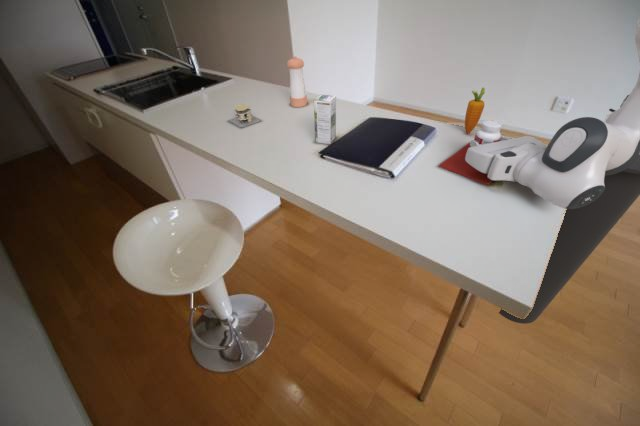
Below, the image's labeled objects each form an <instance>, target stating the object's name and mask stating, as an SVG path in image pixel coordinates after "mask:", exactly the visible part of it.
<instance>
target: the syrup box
mask: <svg viewBox="0 0 640 426" xmlns="http://www.w3.org/2000/svg"><path fill="white" fill-rule="evenodd" d="M336 110H337V96H336V95H332V94H319V95H318V96H316V98H315V99H314V100H313V116H314V117H313V118H314V142H315V143H317V144H325V145H326V144H327V145H331V144H333V142H334V140H335V139H336V137H337V136H336V134H337V131H336V127H337V124H336V123H337V111H336Z"/></svg>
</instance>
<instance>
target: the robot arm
mask: <svg viewBox="0 0 640 426" xmlns="http://www.w3.org/2000/svg"><path fill="white" fill-rule="evenodd" d="M634 41H635V43H634V44H635V49H636V51H637V55H638V63H639V64H640V16H639V17H638V19H637V21H636V25H635V34H634ZM608 111H609V112H610V113H608V114H607V115H606V117H605V119H604V121H603V120H601V119H599V118H597V117H593V116H584V117H578V118H575V119H572V120H570V121H568V122H566V123H565V124H563V125H562V126H561V127H559V129H557V131H556V132H555V134H554V135H553V136H552V138H551V139H550V141H549V143H548V144H545V143H544V142H543V141H540V140H539V139H537V138H535V137H534V136H532V135H531V136H530V135H524V136H518V137H514V138H513V137H508V136H503V135H501V138H500V141H498V142H493V143H488V144H483V145H482V144H480V145H479V143H480V141H479V140H477V139H475V140H474V139H471V140H470V142H469V143H470V146H471V147H469V148H468V150H467V153H466V157H465V160H466V162H467V163H468V164H470V165H471V166H472V167H474V168H475V169H477V170H478V171H480V172H482V173H487V174H488V175H487V177H488V178H489V179H491V180H493V181H507V182H517V183H518V184H519V185H522V186H524V187H527V188H529V189H530V190H531V191H532V192H533V193H534V195H537V196H538V197H540V198H542V199H543V200H545V201H546V202H549V203H550V204H552V205H555V206H557V207H559V208H562V209H565V210H566V209H576V208H580V207H583V206H586V205H588V204H590V203H591V202H593V201H594V200H596V199H597V198H598V197H599V196H600V195H601V194H602V193H603V191H604V190H605V185H604V177H605V176H607V175H613V174H616V173H619V172H621V171H623V170H625V169H627V168H628V167H629V166H631V165H632V164H633V163H634V162H635V160H636V159H637V157H638V156H639V154H640V71H639V72H638V77H637V81H636V83H635V85H634V88H633V89H632V90H631V92H630V93H629V94H627V95H626V96H625V98H624V99H623V101H622V103H621V105H620V106H619V108H618V109H614V108H609V109H608Z"/></svg>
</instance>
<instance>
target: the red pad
mask: <svg viewBox="0 0 640 426" xmlns="http://www.w3.org/2000/svg"><path fill="white" fill-rule="evenodd" d="M469 147H471V146H470V142H468V143H467V144H466V145H464V146H463V147H462V148H461V149H459V150H458V151H457V152H455V153H454V154H452V155H451V156H450V157H448V158H447V159H445V160H444V161H443V162H441V163H440V164H438V167H439V168H441V169H444V170H446V171H450V172H452V173H455V174H456V175H460V176H463V177H465V178H467V179H470V180H473V181H476V182H477V183H480V184H483V185H486V186H489V185H490V184H491V183H493V181H494V180H491V179H489V178H488V177H487V175H488V174H487V173H482V172H480V171H478V170H477V169H475V168H474V167H472V166H471V165H470V164H468V163H467V162H466V160H465V157H466V153H467V150H468V148H469Z"/></svg>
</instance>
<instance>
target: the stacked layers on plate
mask: <svg viewBox="0 0 640 426" xmlns="http://www.w3.org/2000/svg"><path fill="white" fill-rule="evenodd" d="M233 108H234V112H235V113H236V114H235V116H236V118H234V119H231V120H229V123H232V124H233V125H235V126H237V127H239V128H241V129H242V128H245V127H248V126H251V125H254V124H256V123H260V122H261V120H260V119H257V118H256V117H254V116H253V114H252V113H251V112H252V109H251V106H250V105H248V104H244V103H240V104H237V105H234V106H233Z"/></svg>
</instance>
